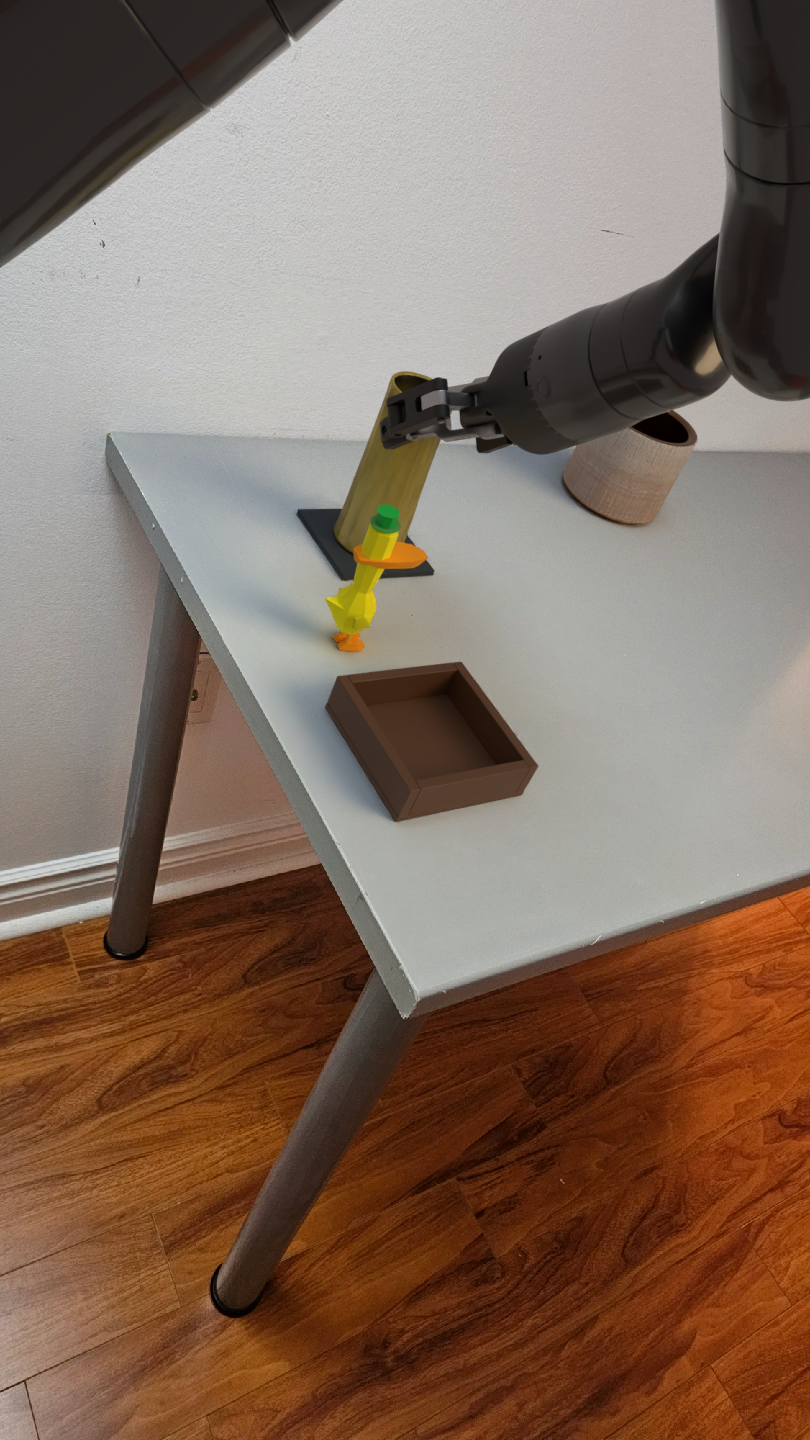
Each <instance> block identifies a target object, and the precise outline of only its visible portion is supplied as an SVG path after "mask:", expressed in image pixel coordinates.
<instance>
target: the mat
mask: <svg viewBox="0 0 810 1440" xmlns="http://www.w3.org/2000/svg"><path fill="white" fill-rule="evenodd" d="M341 510H342V508H298V509H297V511H296V515H297V517H298V518H299V519H300V521H301V522H302V524H303V525H304V527H305V528H306V530H307V531H308V533H309V534H310V535H311V537H312V538H313V540H314V542H315V543H316V545H317V546H318V547H319V549H320V550H321V552H322V553H323V554H324V556H325V557H326V559H327V560H328V561H329V563H330V565H331V566H332V568H334V570H335V572H336V573H337V574H338V576H339V578H340V579H341V580H342V581H354V577H355V572H356V567H357V562H355V560H354V555H353V554H352V553H351V552H349V551H347V550H346V549H345V548H344V547H343V546H342V545H341V544H340V543H339V542H338V541H337V539H336V537H335V534H334V525H335V524H336V522H337V520H338V518H339V515H340V513H341ZM404 543H408V544H412V545H414V546H416V544H415V543H414V541H413V540H412V539H411V538H410V537H409V535H408V534H407V536H406V539H405V542H404ZM435 571H436V570H435V569H434V568H433V566H432V565H431V563H430V562H429V561H428V559H426V560H425V561H424V562H423V563H421V564H420V565H419V566H417V567H415V568H407V569H384V571H383V573H382V574H381V576H380V578H379V579H388V578H389V579H390V578H406V577H424V576H425V577H426V576H434V573H435Z"/></svg>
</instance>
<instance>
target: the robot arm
mask: <svg viewBox="0 0 810 1440" xmlns="http://www.w3.org/2000/svg"><path fill="white" fill-rule="evenodd" d="M713 1H714V3H713V4H714V12H715V13H714V15H715V27H716V42H717V43H716V44H717V61H718V82H719V83H718V85H719V101H720V102H719V103H720V117H721V119H720V120H721V136H722V147H723V157H724V158H723V159H724V165H725V166H724V167H725V177H726V178H725V193H724V203H723V210H722V215H721V216H722V217H721V223H720V228H719V232H718V233H716V234H715V235H713V237H711V238H710V239H709V240H707V241H706V242H705V243H704V244H702V245H700V246H699V247H698V248H697V249H695V250H694V251H693V253H691V254H689V256H688V257H687V258H685V260H684V261H682V263H680V264H679V265H678V266H677V267H676V268H674V269H673V270H671V272H669V273H668V274H667V275H665V276H664V277H661V278H659V279H656V280H654V281H651V282H649V283H646V284H645V285H643V286H641V287H639V288H636V289H634V290H632V291H629V292H628V293H625V294H624V295H622V296H620V297H618V298H616V299H613V300H610V301H608V302H605V303H601V304H597V305H593V306H590V307H586V308H584V309H581V310H578V311H577V312H575V313H573V314H570V315H569V316H567V317H564V318H563V319H560V320H558V321H556V322H554V323H552V324H550V325H547V326H546V327H544V328H541V329H539V330H536V331H535V332H532V333H530V334H528V335H527V336H524V337H522V338H520V339H518V340H516V341H514V342H512V343H511V344H508V346H506V348H504V350H502V352H501V353H500V354H499V356H497V358H496V361H495V363H494V364H493V367H492V369H491V371H490V373H489V375H486V376H481V377H476V378H475V379H473V381H471V382H469V383H464V384H463V383H462V384H458V385H451V386H449V384H448V378H444V377H439V376H437V377H433V378H432V380H429V381H427V382H425V383H422V384H420V385H418V386H416V387H413V388H411V389H409V390H406V391H404V392H402V393H399V394H397V395H395V396H392V397H390V398H388V399H386V404H387V409H388V417H386V418H384V419H383V420H382V421H381V422H380V435H381V443H383V447H384V448H385V449H396V448H399V447H401V446H404V445H406V444H409V443H411V442H414V441H418V440H419V439H424V438H430V437H436V436H437V437H438V438H440V439H441V440H440V441H443V442H444V443H451V442H456V441H457V442H459V441H464V440H470V439H475V448H476V451H477V453H478V454H490V453H492V452H496V451H498V450H501V449H505V448H507V447H510V446H516V447H518V448H519V449H521V450H523V451H525V452H527V453H530V454H533V455H539V456H540V455H551V454H554V453H557V452H560V451H563V450H566V449H569V448H573V447H576V445H579V444H582V443H586V442H589V441H592V440H594V439H598V438H601V437H604V436H607V435H610V434H614V433H617V432H620V431H622V430H625V429H627V428H629V427H631V426H633V425H635V424H637V423H638V422H640V421H642V420H644V419H647V418H650V417H653V416H656V415H659V414H662V413H665V412H668V411H671V410H674V411H675V410H678V409H681V408H684V407H686V406H689V405H692V404H694V403H695V404H696V403H697V402H700V401H702V400H704V399H706V398H708V397H710V396H712V395H713V394H715V393H716V392H718V390H720V389H721V388H722V387H724V385H725V384H726V383H727V382H728V380H729V379H730V378H731V377H733V379H734V380H735V381H736V382H737V383H738V384H740V385H741V386H742V387H743V388H744V389H746V390H747V391H749V393H752V394H754V395H756V396H758V397H760V398H763V399H766V400H769V401H776V402H801V401H804V400H808V399H810V0H713ZM342 2H344V0H0V269H1V268H2V267H4V266H6V265H7V264H8V263H10V262H11V261H13V260H14V259H15V258H17V257H18V256H19V255H21V254H22V253H23V252H25V251H26V250H28V249H30V248H31V247H32V246H34V245H35V244H36V243H38V242H39V241H41V240H42V239H43V238H44V237H46V236H47V235H49V234H50V233H51V232H53V231H54V230H55V229H57V228H59V226H61V225H62V224H64V222H66V221H67V220H68V219H70V218H71V217H72V216H73V215H75V214H76V213H78V212H79V211H80V210H81V209H82V208H84V207H85V206H86V205H88V203H90V202H91V201H93V200H94V199H96V198H97V197H98V196H99V195H100V194H102V193H104V192H105V191H106V190H107V189H108V188H110V187H111V186H112V185H113V184H115V183H116V182H117V181H118V180H120V179H121V178H122V177H124V175H126V174H127V173H129V172H130V171H131V170H132V169H133V168H134V167H136V166H137V165H138V164H139V163H141V162H142V161H143V160H145V159H146V158H148V157H149V156H150V155H152V154H153V153H154V152H156V151H157V150H159V149H160V148H161V147H162V146H164V145H166V144H167V143H168V142H170V141H171V140H172V139H174V138H176V137H177V136H178V135H180V134H181V133H183V132H184V131H185V130H186V129H188V128H189V127H191V126H192V125H193V124H195V123H197V121H199V120H200V119H202V118H203V117H205V116H206V115H207V114H209V113H210V112H211V109H212V110H214V109H216V108H217V107H218V106H219V105H220V104H221V103H223V102H224V101H225V100H226V99H228V98H229V97H230V96H232V95H233V94H234V93H236V92H237V91H238V90H239V89H240V88H242V87H243V86H244V85H245V84H247V83H248V82H249V81H250V80H251V79H253V78H254V77H256V76H257V75H258V74H259V73H260V72H262V71H263V70H265V68H267V67H268V66H269V65H271V63H273V62H274V61H276V59H278V58H279V57H280V56H282V55H283V54H284V53H285V52H287V51H288V50H289V49H290V48H291V47H292V42H291V40H292V41H293V42H295V43H297V42H299V41H300V40H301V39H302V38H303V37H305V35H307V34H308V33H309V32H310V31H311V30H312V29H314V27H315V26H317V25H318V24H319V23H320V22H321V21H322V20H324V19H325V18H326V17H327V16H328V15H329V14H330V13H331V12H332V11H333V10H335V9H336V8H337V7H338V6H339V5H340V4H341V3H342ZM290 38H291V40H290ZM450 411H452V412H455V411H456V412H457V411H458V414H459V424H460V425H461V427H462V428H456V429H452V417H451V415H450ZM434 424H435V425H434ZM431 425H434V426H432V427H429V426H431ZM426 427H427V428H426Z"/></svg>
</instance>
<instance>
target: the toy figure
mask: <svg viewBox="0 0 810 1440" xmlns="http://www.w3.org/2000/svg"><path fill="white" fill-rule="evenodd" d="M398 517H399V510H398V509H396V508H395V507H394V506H391V505H385V504H383V505H381V506H378V511H377V514H376V515H374V516H372V517H371V520H370V525H369V528H368V530H367V533H366V536H365V539H364V541H363V543H362V544H361V545H359V546H357V547H355V548H354V549H353V555H354V560H355V562H357V567H356V572H355V577H354V580H352V581H353V582H352V583H350V584H348V585H346V586H344V587H340V588H339V590H338V592H337V595H334V596H329V597H325V598H324V599H325V602H326V603H327V606H328V608H329V610H330V613H331V616H332V619H333V621H334V623H335V626H336V628H337V629H338V630H339V632H338V633H336V634H334V635H333V640H334V641H335V643H337V648H338V650H339V651H345V652H352V653H357V652H361V651H363V650H364V649H365V647H366V646H365V642H364V641H362V640H361V639H360V638H361V635H360V633H359V632H361V631H363V630H365V629H369V628H371V625H372V621H373V619H374V617H375V614H376V611H377V598H376V595H375V593H374V591H373V590H374V588H375V587H376V585H377V584H378V582H379V580H380V579H381V578H380V576H381V574H382V573H383V571H384V569H407V568H415V567H417V566H419V565H420V564H421V563H423V562H424V561H425V560H428V559H429V556H428V555H427V553H426V552H425V550H423V549H422V548H420V547H418V546H417V545H415V546H414V545H412V544H408V543H403V542H398V541H396V540H397V537H398V531H399V530H400V528H401V524H400V522H399V521H398Z"/></svg>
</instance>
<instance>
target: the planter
mask: <svg viewBox="0 0 810 1440" xmlns="http://www.w3.org/2000/svg"><path fill="white" fill-rule="evenodd" d="M698 440H699V438H698V434H697V432H696V430H695V429H694V427H693V426H692V425H691V424H690V423H689V421H688V420H687V419H685V418H684V417H683V416H682V415H681V414H679V413H678V412H677V411H675V409H674V410H671V411H668V412H665V413H662V414H659V415H656V416H653V417H650V418H647V419H644V420H642V421H640V422H638V423H637V424H635V425H633V426H631V427H629V428H627V429H625V430H622V431H620V432H617V433H614V434H610V435H607V436H604V437H601V438H598V439H594V440H592V441H589V442H586V443H582V444H579V445H576V446H574V449H573V451H572V453H571V454H570V457H569V459H568V461H567V462H566V465H565V467H564V470H563V473H562V478H563V481H564V484H565V486H566V488H567V490H569V492H570V494H571V495H572V496H573V498H575V499H576V500H577V501H578V502H579V503H580V504H581V505H582V506H584V507H585V508H587V509H588V510H590V511H592V512H593V513H594V514H596V515H598V516H600V517H603V518H605V519H607V520H611V521H613V522H617V523H620V524H628V525H640V524H645V523H649V522H652V521H653V520H654V519H655V518H656V516H657V515H658V514H659V513H660V511H661V508H662V507H663V505H664V503H665V502H666V500H667V498H668V497H669V494H670V492H671V491H672V489H673V487H674V485H675V483H676V481H677V479H678V477H679V476H680V474H681V472H682V470H683V468H684V467H685V465H686V463H687V462H688V460H689V458H690V456H691V454H692V453H693V451H694V449H695V447H696V445H697V444H698Z"/></svg>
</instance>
